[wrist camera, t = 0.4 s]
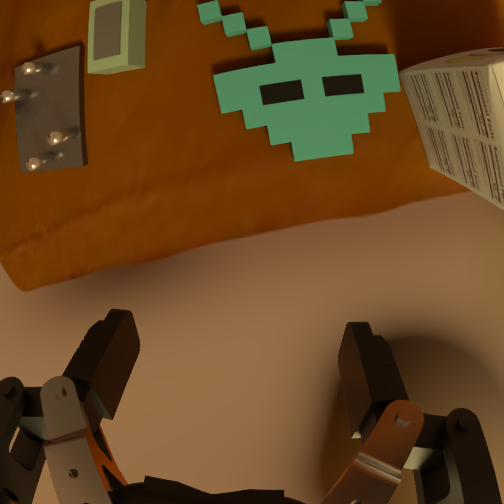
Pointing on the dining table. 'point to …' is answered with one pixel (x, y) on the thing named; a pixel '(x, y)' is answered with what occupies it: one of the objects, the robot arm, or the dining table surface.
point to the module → (116, 36)
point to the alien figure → (306, 85)
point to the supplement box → (462, 117)
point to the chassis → (50, 111)
